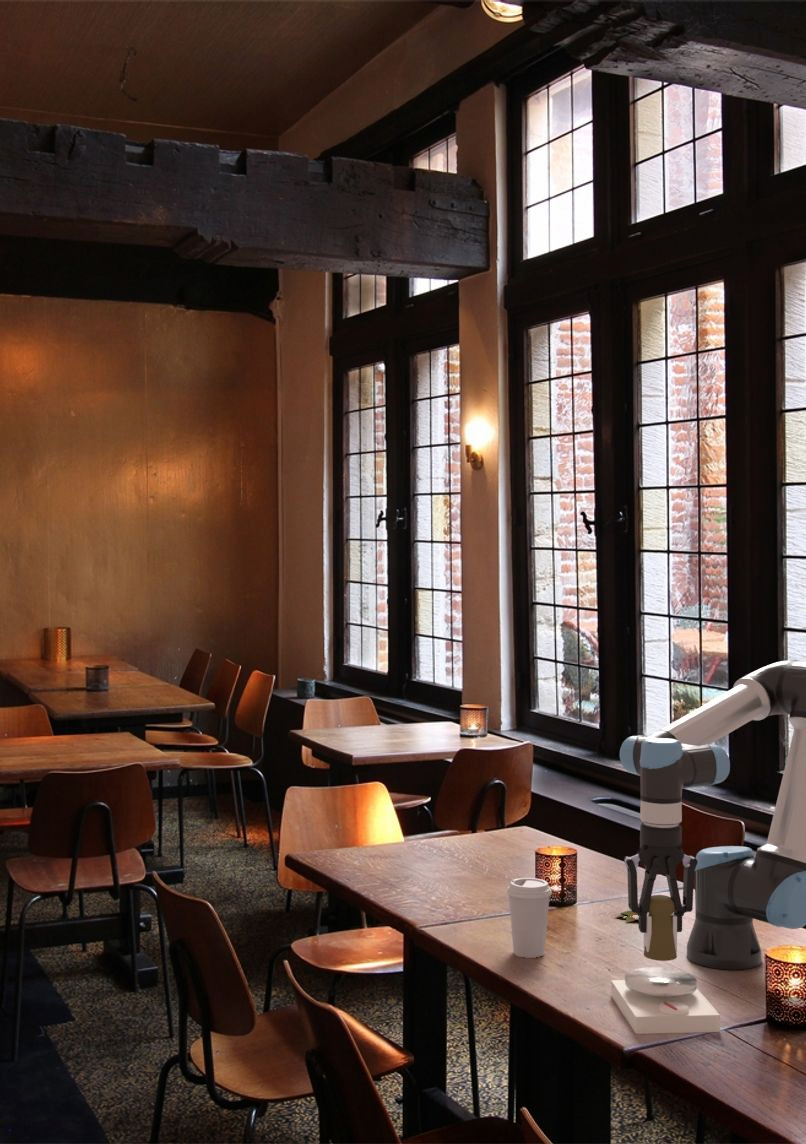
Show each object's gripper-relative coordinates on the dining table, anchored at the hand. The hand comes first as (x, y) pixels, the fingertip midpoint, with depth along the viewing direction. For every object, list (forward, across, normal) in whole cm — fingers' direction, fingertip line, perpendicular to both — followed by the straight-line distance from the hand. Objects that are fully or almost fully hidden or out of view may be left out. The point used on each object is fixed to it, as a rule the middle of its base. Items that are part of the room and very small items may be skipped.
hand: (660, 949), depth 229 cm
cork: (+1, 0, 0) cm, 1 cm away
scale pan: (+7, 0, 0) cm, 7 cm away
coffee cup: (+11, +19, -34) cm, 41 cm away
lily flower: (+12, -11, -58) cm, 60 cm away
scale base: (+11, 0, +2) cm, 11 cm away
